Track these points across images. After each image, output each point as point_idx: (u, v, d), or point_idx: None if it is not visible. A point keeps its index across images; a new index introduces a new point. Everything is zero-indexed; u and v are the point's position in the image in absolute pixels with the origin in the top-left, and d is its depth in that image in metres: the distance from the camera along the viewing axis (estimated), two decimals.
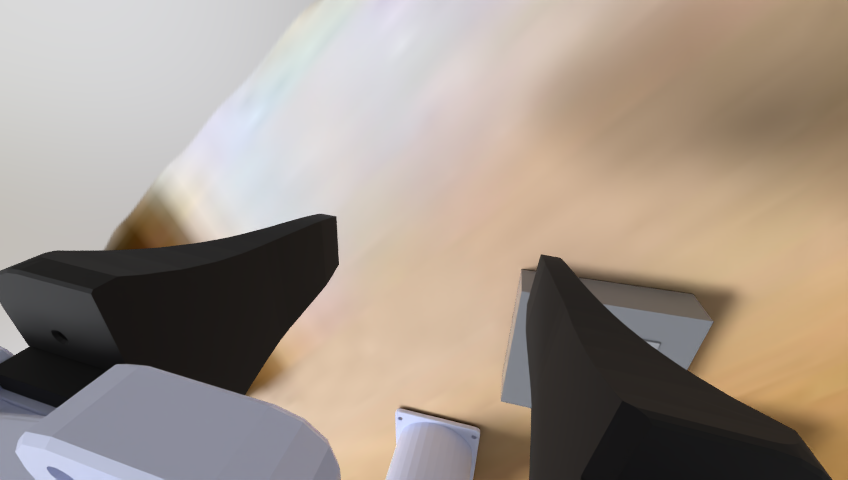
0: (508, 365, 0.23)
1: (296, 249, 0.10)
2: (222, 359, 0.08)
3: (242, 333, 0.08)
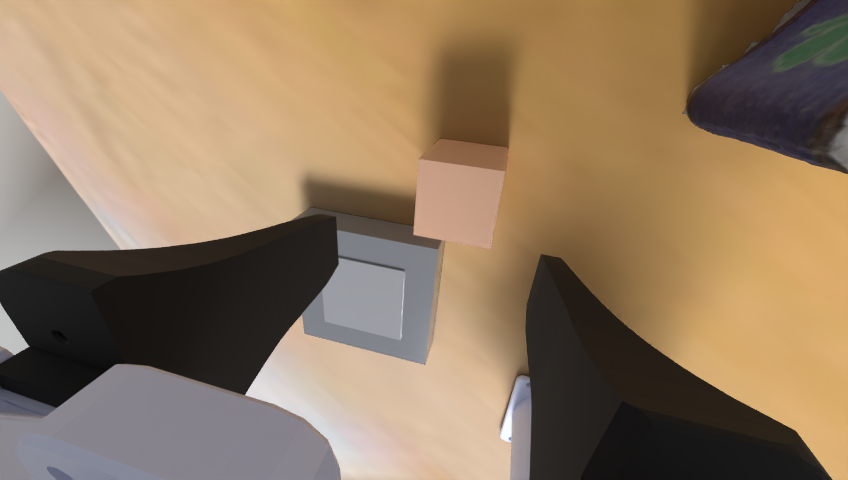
0: (378, 351, 0.26)
1: (296, 249, 0.10)
2: (222, 359, 0.08)
3: (242, 333, 0.08)
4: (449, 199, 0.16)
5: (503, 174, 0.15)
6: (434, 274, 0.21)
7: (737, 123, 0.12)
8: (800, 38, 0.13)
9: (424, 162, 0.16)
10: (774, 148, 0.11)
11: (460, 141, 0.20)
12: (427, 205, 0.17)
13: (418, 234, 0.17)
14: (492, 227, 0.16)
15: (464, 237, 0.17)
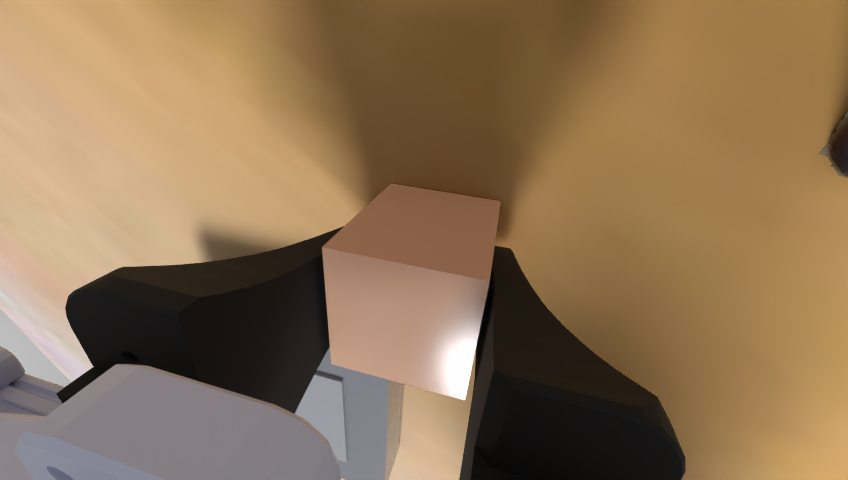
0: None
1: None
2: (280, 376, 0.08)
3: (297, 348, 0.08)
4: (385, 318, 0.09)
5: (485, 286, 0.07)
6: (387, 388, 0.14)
7: None
8: None
9: (333, 254, 0.08)
10: None
11: (422, 189, 0.12)
12: (348, 323, 0.09)
13: (339, 364, 0.10)
14: (467, 369, 0.09)
15: (418, 378, 0.09)
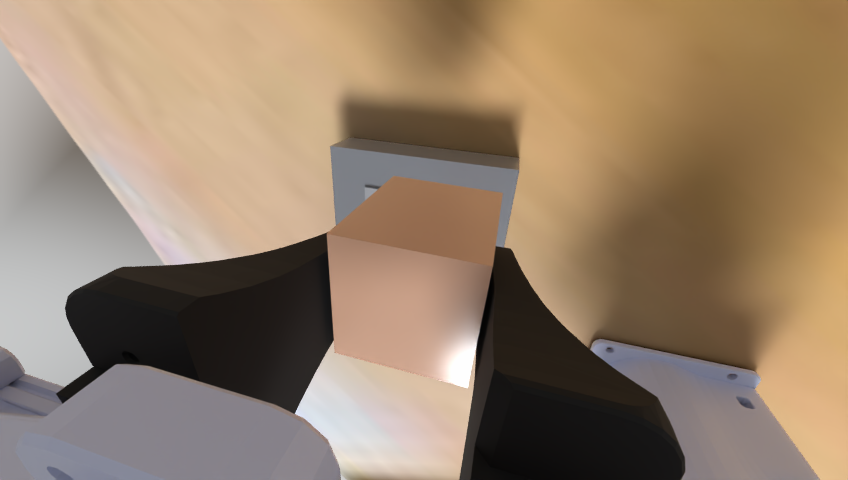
0: None
1: None
2: (279, 375, 0.08)
3: (296, 348, 0.08)
4: (389, 304, 0.09)
5: (488, 271, 0.07)
6: (511, 205, 0.17)
7: None
8: None
9: (338, 240, 0.08)
10: None
11: (424, 181, 0.12)
12: (352, 310, 0.09)
13: (342, 352, 0.10)
14: (470, 355, 0.09)
15: (421, 365, 0.09)
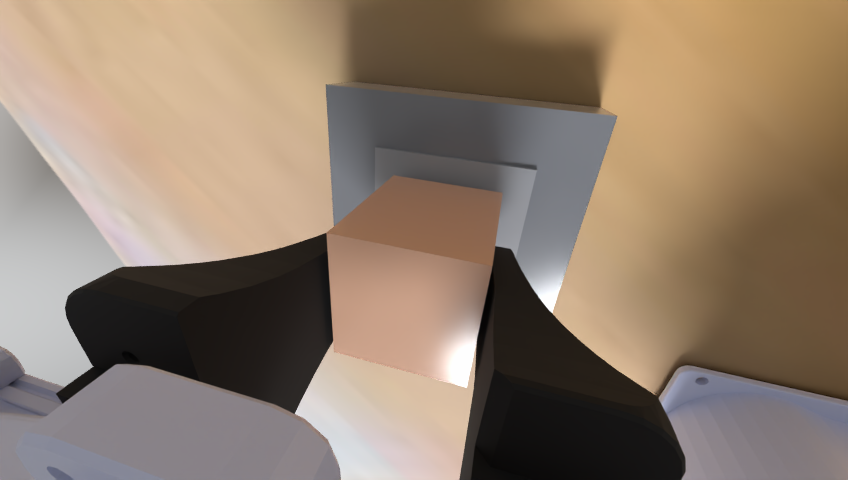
0: None
1: None
2: (279, 376, 0.08)
3: (296, 348, 0.08)
4: (389, 304, 0.09)
5: (488, 271, 0.07)
6: (596, 173, 0.11)
7: None
8: None
9: (337, 239, 0.08)
10: None
11: (424, 181, 0.12)
12: (351, 310, 0.09)
13: (342, 352, 0.10)
14: (469, 355, 0.09)
15: (420, 365, 0.09)
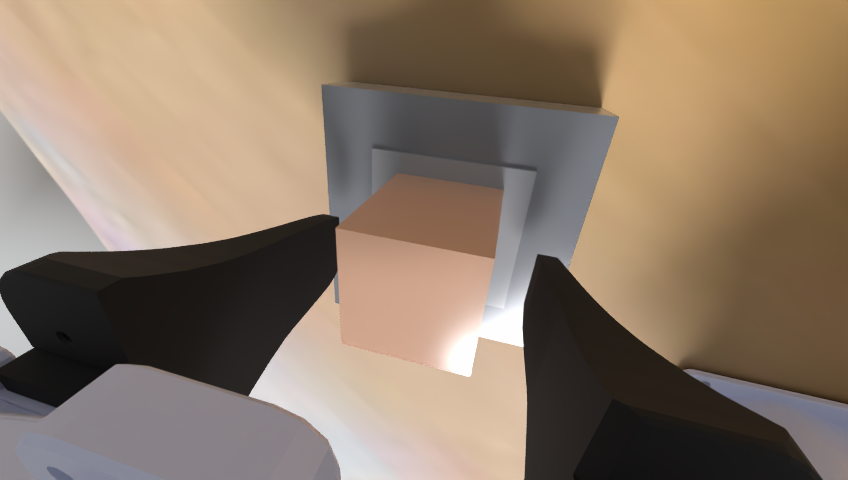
0: None
1: (299, 250, 0.10)
2: (226, 360, 0.08)
3: (246, 334, 0.08)
4: (395, 296, 0.09)
5: (490, 263, 0.08)
6: (597, 174, 0.11)
7: None
8: None
9: (346, 234, 0.08)
10: None
11: (427, 178, 0.12)
12: (359, 302, 0.09)
13: (349, 343, 0.10)
14: (472, 345, 0.09)
15: (425, 355, 0.10)
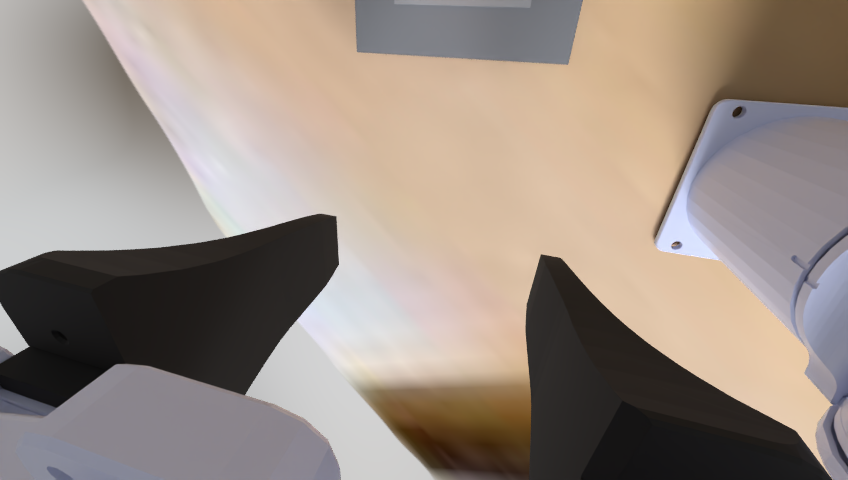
0: (482, 57, 0.15)
1: (296, 249, 0.10)
2: (222, 359, 0.08)
3: (242, 333, 0.08)
4: None
5: None
6: None
7: None
8: None
9: None
10: None
11: None
12: None
13: None
14: None
15: None
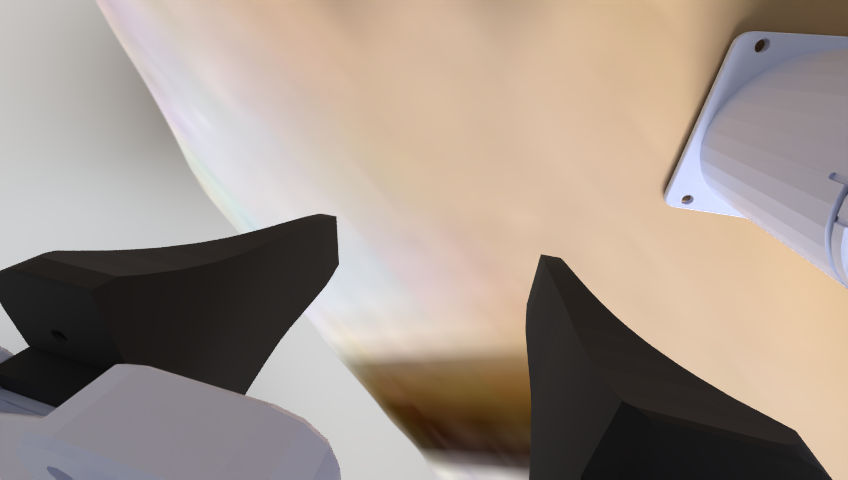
0: None
1: (296, 249, 0.10)
2: (222, 359, 0.08)
3: (242, 333, 0.08)
4: None
5: None
6: None
7: None
8: None
9: None
10: None
11: None
12: None
13: None
14: None
15: None
